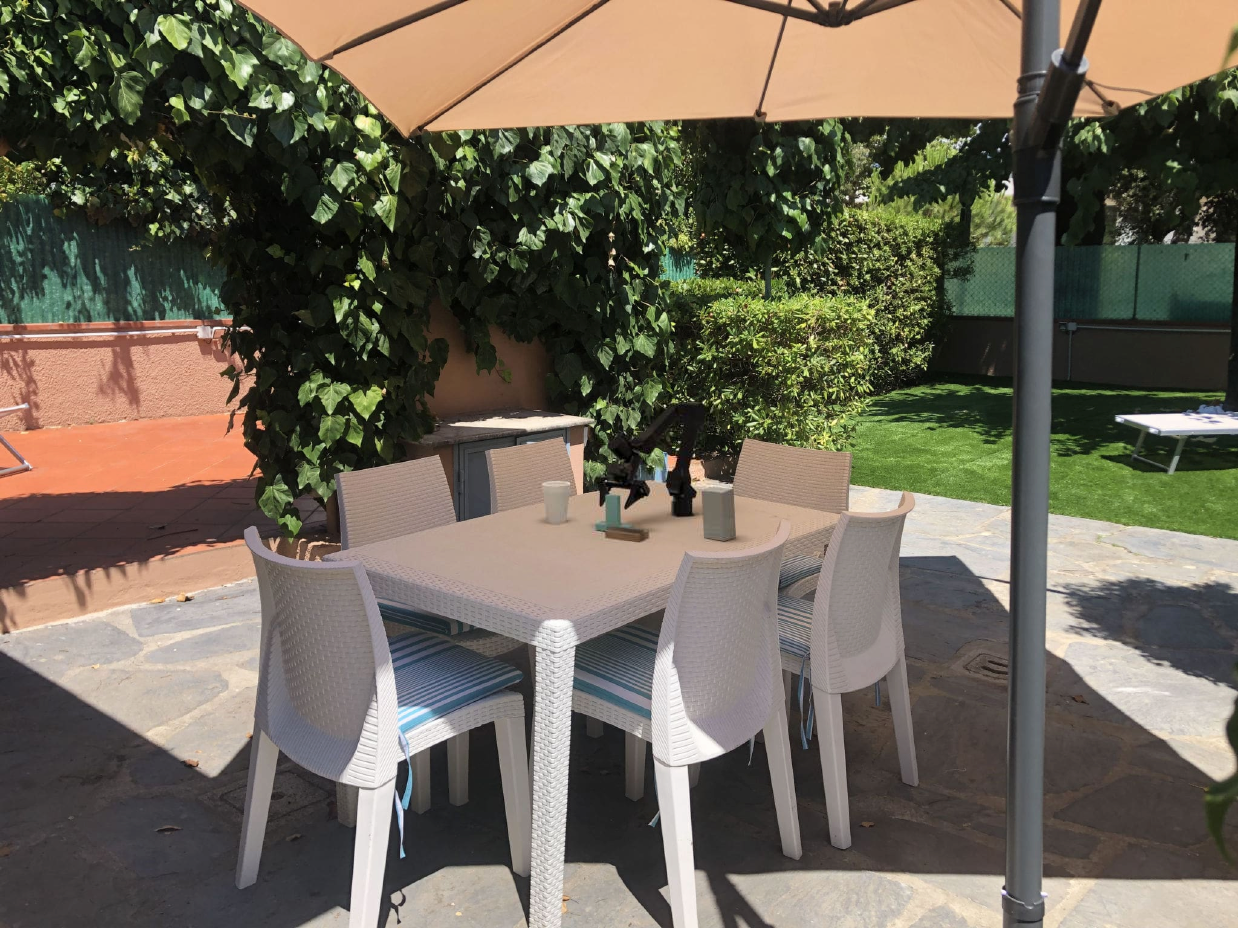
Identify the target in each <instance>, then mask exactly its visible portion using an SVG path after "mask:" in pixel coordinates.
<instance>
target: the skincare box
mask: <svg viewBox="0 0 1238 928" xmlns="http://www.w3.org/2000/svg"><path fill="white" fill-rule="evenodd" d="M734 493H735V491H734V488H728V487H719V486H718V487H717V486H712V487H709V488H705V489H702V490H701V504H702V506H701V507H702V525H703V527H702V528H703V538H704V539H708V538H710V539H709V540H715V541H720V542H725V541H729V540H732V538H733V539H735V538H736V536H737V531H736V528H737V527H736V510H735V509H736V508H735V494H734Z"/></svg>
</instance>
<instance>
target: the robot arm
mask: <svg viewBox="0 0 1238 928" xmlns="http://www.w3.org/2000/svg"><path fill="white" fill-rule="evenodd" d="M707 414H708V408H707V407H706V405H705V404H704V403H703V402H697V401H695V402H694V401H687V402H685V403H680V402H675V401H674V402H671V403H670V402H669V404H668V406H667V408H666V409H665V410H664V411H663V412H662V413H661V414H660V415H659V416H658V417H657V419H655V421H654V422H653V423H652V424H651V425H649V427H648V428H647V429H644V430H642V431H641V432H639V433H638V434H636V435H635V436H633V437H632V439H630V440H628V439H627V437H626V436H625V435H624V434H623V433H618V434H617V436H615V437H613V438H611V439H610V440H609V441H608V443H607V450H608V451H610V453H612V455H614V457H615V458H616V459H617V460H619V461H622V463H621V464H620V463H609V466H608V469H607V474H608V475H609V474H610V475H611V478H612V480H613V481H612V480H609V478H608V477H607V476H603V475H601V476H600V475H596V476H595V477H594V479H593V481H592V483H593V484H594V485H595V487H596V489H597V490H598V492H599V498H598V499H599V503H598V504H599V507H601V508H602V507H603V506H604V504H605V495H608V494H611V493H610V492H611V490H612V489H622V490H629V494H628V496H627V499H626V501H625V504H624V507H623V509H624V510H625V511H626V510H627V509H629V508H630V507H631V506H632V505H634V504H635V503H637V502H638V501H640V500H641V499H644V498H646V497H647V498H648V497H649V496H650V493H651V488H650V487H649V485H648V484H647V482H646V480H645V479H638V477H639V476H638V474H637V473H638V471H639V468H640V466H645V465H647V461H646V459H645V456H642V455H651V454H652V453H654V451H655V450H656V448H657V447H658V444H659V440H660V438H661V436H663V435H664V433H665V432H666V431H667V430H668V429H669V428H670V427H671V426H672V425H673V423H675V421H676V420H678V418H679V417H680V416H681V421H682V424H683V428H682V433H681V438H680V443H679V447H678V450H677V451H678V452H677V456H676V460H675V465H674V467H673V468H672V470H668V471H667V472H666V478H665V481H664V483H665V488H666V489H667V491H668V494H669V497H672V500H671V508H670V509H671V510H670V513H671V514H672V515H674V516H675V517H688V516H689V517H690V516H695V513H693V502H694V501H693V499H696V497H697V494H698V492H697V490H696V489H695V488H694V487H693V486H692V475H691V472H690V467H691V462H692V458H693V455H694V448H695V443H696V439H697V435H698V430H699V429H700V428H701V426H702V425H703V423H704V422H705V419H706V416H707ZM641 454H642V455H641Z"/></svg>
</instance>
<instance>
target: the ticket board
mask: <svg viewBox="0 0 1238 928" xmlns="http://www.w3.org/2000/svg"><path fill="white" fill-rule="evenodd" d="M649 531H650V530H648V529H644V528H638V527H634V528H630V527H622V526H614V525H608V526H606V530H605V532H604V534H605V539H611V540H612V539H613V540H620V541H627V542H636V543H640V542H642V541H644V540H647V539H649V538H650V532H649ZM646 538H647V539H646Z"/></svg>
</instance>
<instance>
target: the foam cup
mask: <svg viewBox="0 0 1238 928" xmlns="http://www.w3.org/2000/svg"><path fill="white" fill-rule="evenodd" d="M541 491H542V494H543V499H544V500H543V501H544V507H545V513H546V514H545V515H546V520H547V521H546V522H547V523H548V524H554V525H555V524H563V523H564V524H565V523H566V522H567V517H568V509H569V499H570V492H571V483H570V481H569V482H568V481H563V480H562V481H561V480H559V481H557V480H553V481H545V482H542V483H541Z"/></svg>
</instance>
